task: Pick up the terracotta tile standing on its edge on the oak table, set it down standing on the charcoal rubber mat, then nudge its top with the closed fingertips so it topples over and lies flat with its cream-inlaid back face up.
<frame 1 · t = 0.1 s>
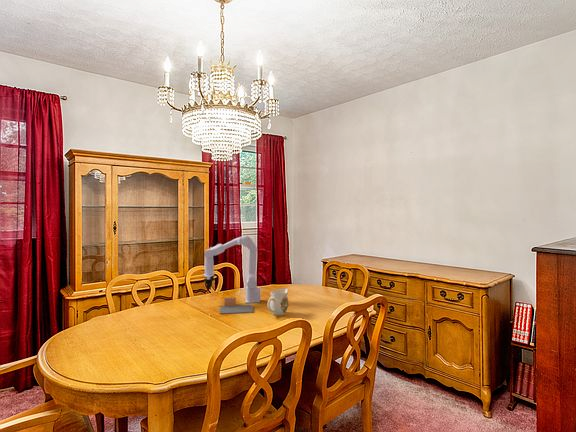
hand: (209, 288, 224), 10 cm above the table, fingers open, 7 cm apart
mat: (236, 309, 210), on the table
tile: (230, 305, 220), on the table
pitcher: (277, 314, 201), on the table
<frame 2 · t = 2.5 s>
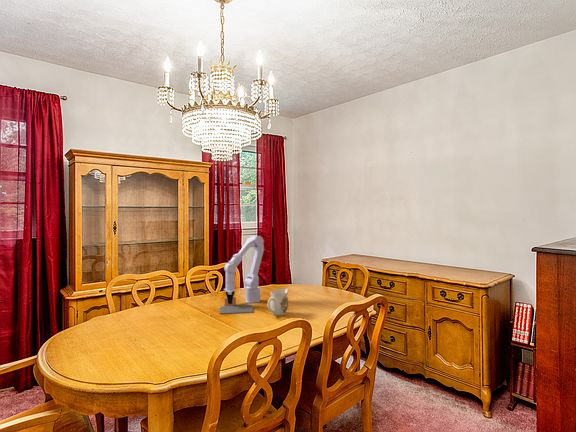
hand: (230, 303, 220), 1 cm above the table, fingers closed on tile, 2 cm apart
tile: (230, 305, 220), on the table, touching gripper
everything else where it was.
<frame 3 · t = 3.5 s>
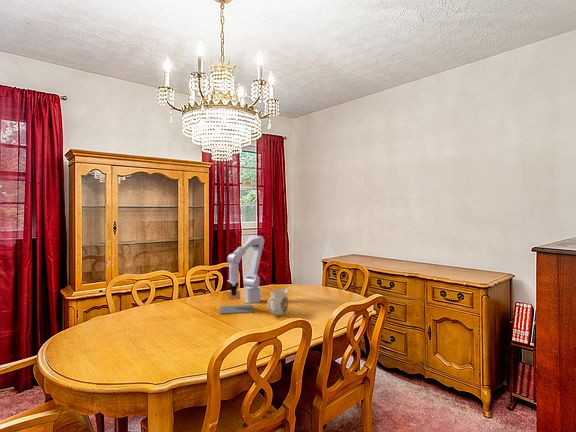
hand: (233, 294, 213), 8 cm above the table, fingers closed on tile
tile: (234, 299, 213), point 6 cm above the table, touching gripper
everything else where it was.
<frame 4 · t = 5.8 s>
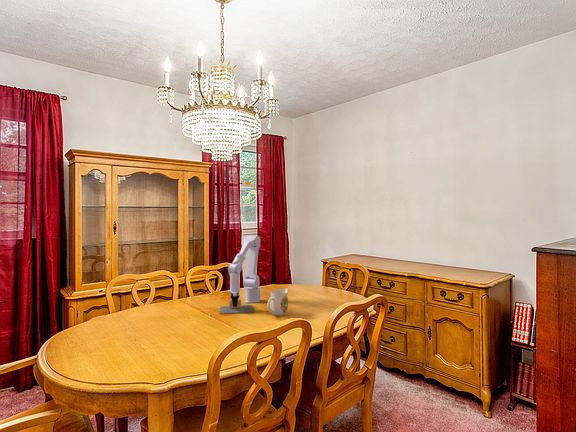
hand: (234, 304, 212), 3 cm above the table, fingers open, 7 cm apart
tile: (235, 308, 212), point 1 cm above the table, touching mat
everything else where it was.
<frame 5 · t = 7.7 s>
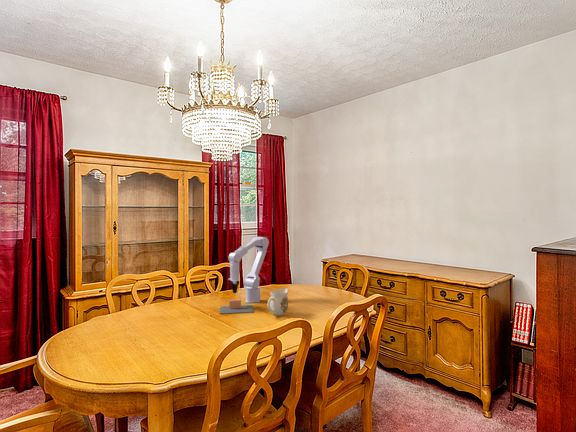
hand: (234, 292, 217), 9 cm above the table, fingers closed
nothing on the table moved.
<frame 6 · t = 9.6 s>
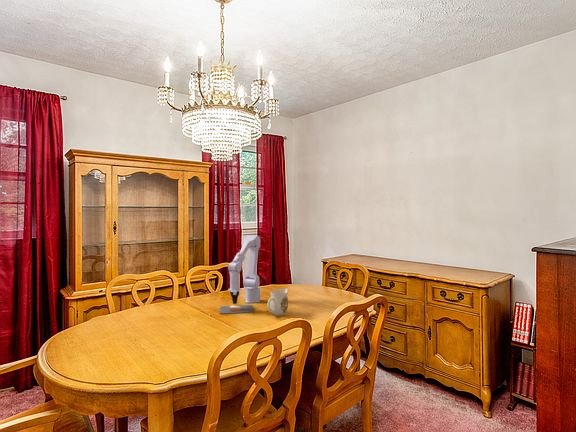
hand: (234, 303, 211), 4 cm above the table, fingers closed
tile: (235, 306, 211), point 2 cm above the table, tilted 90°, touching mat
everything else where it was.
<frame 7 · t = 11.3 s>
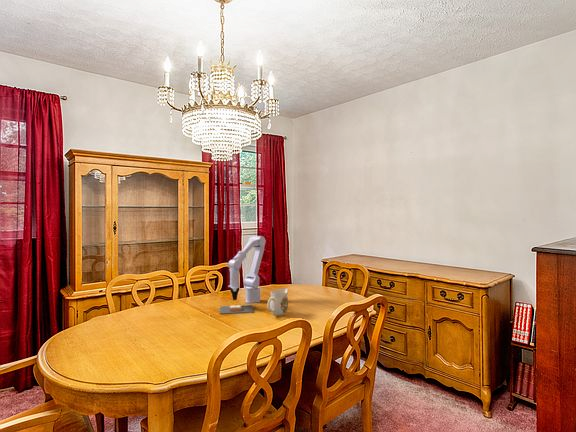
hand: (234, 299, 216), 4 cm above the table, fingers closed
nothing on the table moved.
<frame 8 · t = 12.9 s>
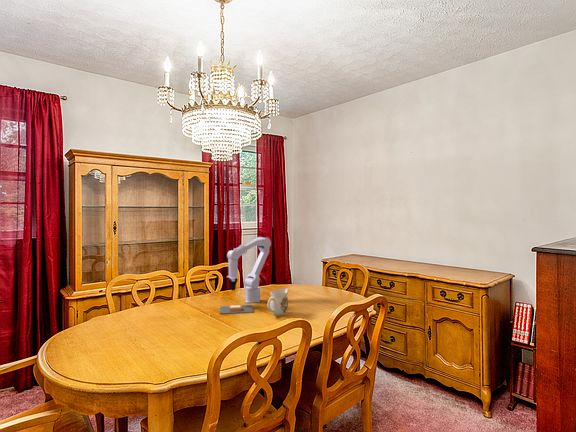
hand: (233, 290, 219), 10 cm above the table, fingers closed
nothing on the table moved.
at the end: tile tilted 90°; tile inside the target area on the mat (1.2 cm from its centre), point 1.6 cm above the mat's base; the gripper is holding nothing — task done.
